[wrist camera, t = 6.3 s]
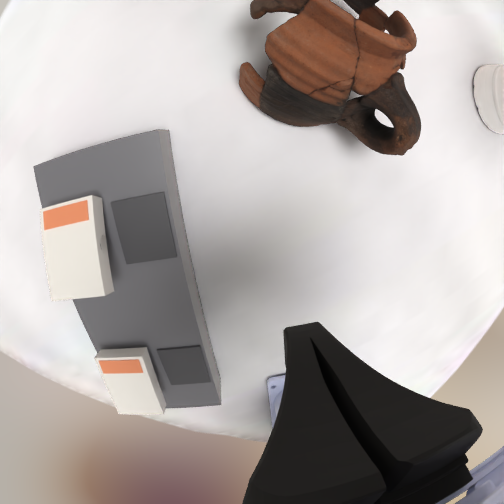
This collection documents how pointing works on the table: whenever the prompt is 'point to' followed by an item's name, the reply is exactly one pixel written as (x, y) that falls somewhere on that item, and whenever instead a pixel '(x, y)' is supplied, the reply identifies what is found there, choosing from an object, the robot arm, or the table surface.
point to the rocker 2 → (131, 381)
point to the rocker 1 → (76, 249)
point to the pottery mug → (337, 71)
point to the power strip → (141, 261)
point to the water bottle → (490, 96)
